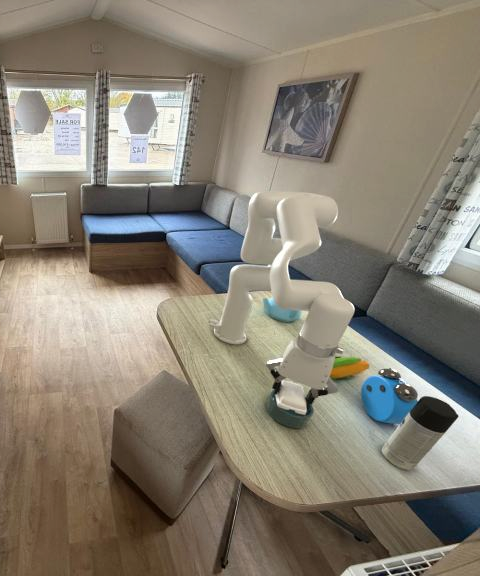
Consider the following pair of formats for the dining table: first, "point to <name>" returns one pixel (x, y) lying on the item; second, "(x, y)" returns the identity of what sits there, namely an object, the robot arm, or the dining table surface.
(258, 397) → the dining table surface
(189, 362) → the dining table surface
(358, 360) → the corn
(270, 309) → the teapot
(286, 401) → the soap
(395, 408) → the alarm clock
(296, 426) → the bowl
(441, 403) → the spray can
